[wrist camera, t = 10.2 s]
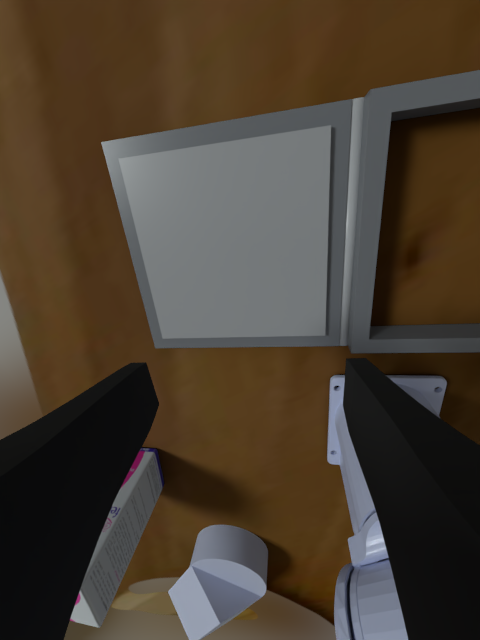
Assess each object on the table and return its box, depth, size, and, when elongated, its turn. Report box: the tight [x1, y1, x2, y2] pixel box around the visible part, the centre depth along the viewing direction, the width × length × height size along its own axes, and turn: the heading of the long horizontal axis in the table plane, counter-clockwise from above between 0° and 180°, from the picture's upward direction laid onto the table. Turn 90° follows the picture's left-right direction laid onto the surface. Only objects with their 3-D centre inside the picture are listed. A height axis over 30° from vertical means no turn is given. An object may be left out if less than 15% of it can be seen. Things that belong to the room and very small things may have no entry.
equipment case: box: [101, 70, 480, 353], centre depth 16 cm, size 14×29×2 cm, turn 96°
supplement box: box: [70, 448, 164, 628], centre depth 24 cm, size 6×6×12 cm
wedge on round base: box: [168, 525, 268, 640], centre depth 31 cm, size 9×7×13 cm
